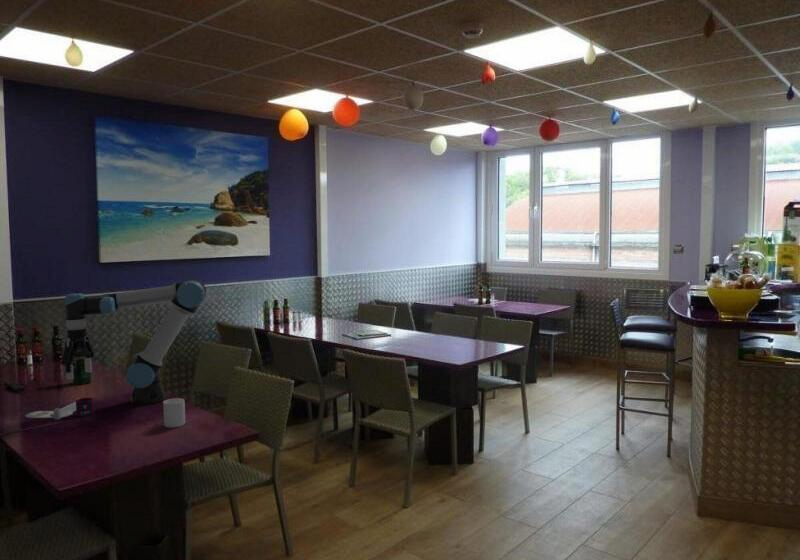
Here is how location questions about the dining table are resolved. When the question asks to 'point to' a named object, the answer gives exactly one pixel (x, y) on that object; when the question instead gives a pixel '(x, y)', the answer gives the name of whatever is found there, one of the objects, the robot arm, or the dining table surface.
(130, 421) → the dining table surface
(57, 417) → the divider wall
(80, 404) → the cup
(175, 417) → the cup
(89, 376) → the coffee jar
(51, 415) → the pad
